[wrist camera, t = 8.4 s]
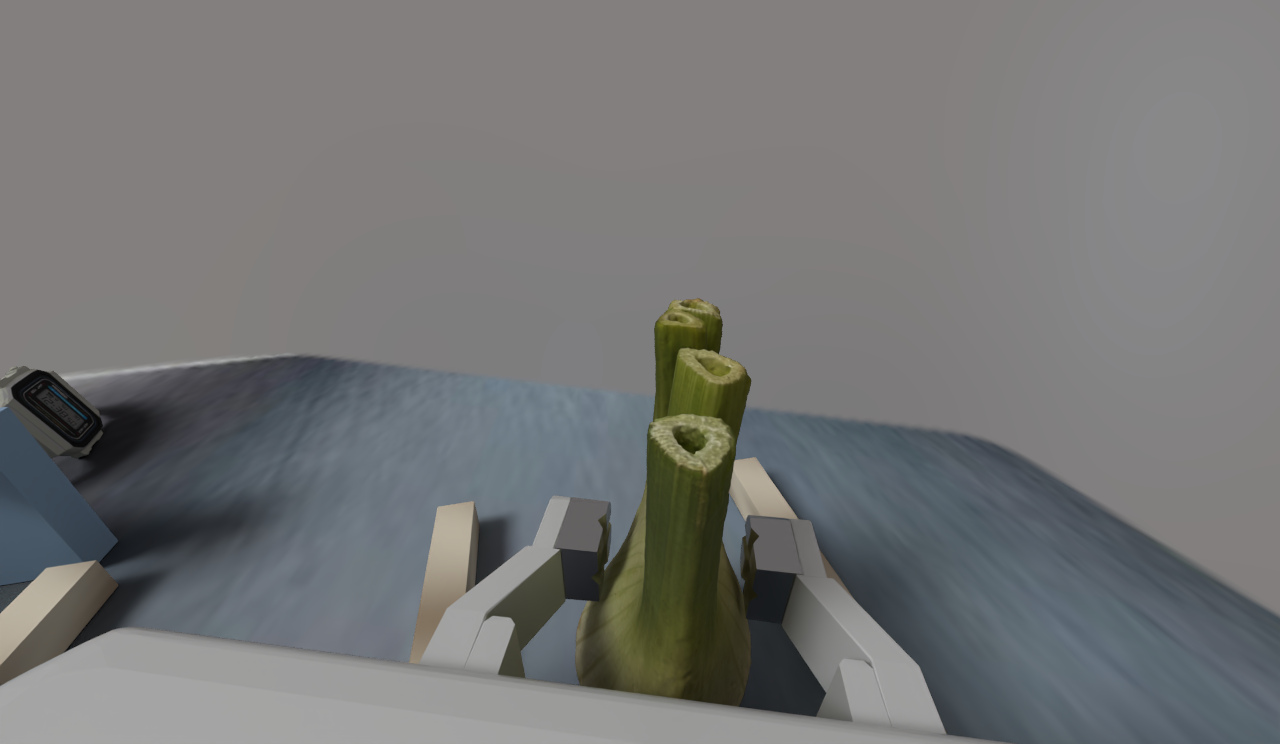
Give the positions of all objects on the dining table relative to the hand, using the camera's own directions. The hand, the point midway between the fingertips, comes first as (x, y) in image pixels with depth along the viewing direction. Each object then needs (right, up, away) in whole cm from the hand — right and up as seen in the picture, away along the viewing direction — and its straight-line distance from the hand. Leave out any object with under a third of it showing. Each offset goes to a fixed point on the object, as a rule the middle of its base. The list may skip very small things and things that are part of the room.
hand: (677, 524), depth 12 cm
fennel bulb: (0, -6, +2) cm, 6 cm away
